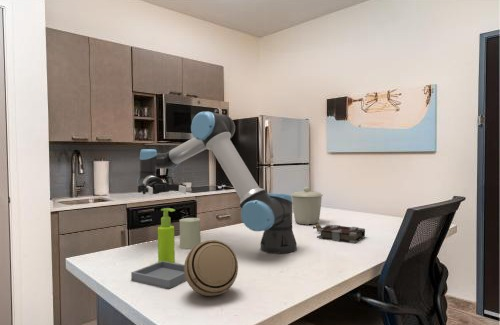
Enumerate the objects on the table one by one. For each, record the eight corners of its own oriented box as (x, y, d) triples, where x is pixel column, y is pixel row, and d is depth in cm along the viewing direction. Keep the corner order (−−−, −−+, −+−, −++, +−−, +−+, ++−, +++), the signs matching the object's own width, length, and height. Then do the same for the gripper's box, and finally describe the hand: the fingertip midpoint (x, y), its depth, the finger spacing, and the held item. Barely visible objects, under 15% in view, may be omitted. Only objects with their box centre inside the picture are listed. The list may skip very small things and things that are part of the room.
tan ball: (174, 300, 93) (173, 245, 93) (201, 281, 107) (200, 233, 107) (224, 308, 88) (223, 249, 87) (246, 287, 102) (245, 236, 101)
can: (196, 249, 145) (196, 220, 145) (176, 248, 147) (175, 220, 146) (204, 243, 154) (203, 216, 154) (184, 243, 156) (184, 216, 156)
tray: (197, 274, 113) (197, 267, 113) (169, 289, 101) (169, 280, 101) (162, 267, 121) (161, 260, 121) (131, 280, 109) (131, 272, 109)
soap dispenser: (168, 266, 122) (167, 210, 122) (154, 263, 126) (153, 208, 125) (180, 262, 127) (179, 208, 127) (166, 259, 131) (165, 206, 130)
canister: (326, 226, 189) (325, 187, 188) (292, 226, 189) (292, 188, 189) (319, 220, 207) (319, 185, 206) (289, 220, 207) (289, 185, 207)
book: (354, 244, 150) (354, 233, 150) (303, 237, 165) (303, 226, 165) (365, 238, 162) (365, 227, 162) (316, 231, 177) (316, 222, 177)
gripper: (179, 192, 162) (197, 198, 143) (124, 194, 148) (136, 201, 130) (180, 176, 161) (198, 180, 143) (124, 176, 148) (136, 182, 130)
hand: (169, 190), depth 137 cm, fingers open, 13 cm apart
